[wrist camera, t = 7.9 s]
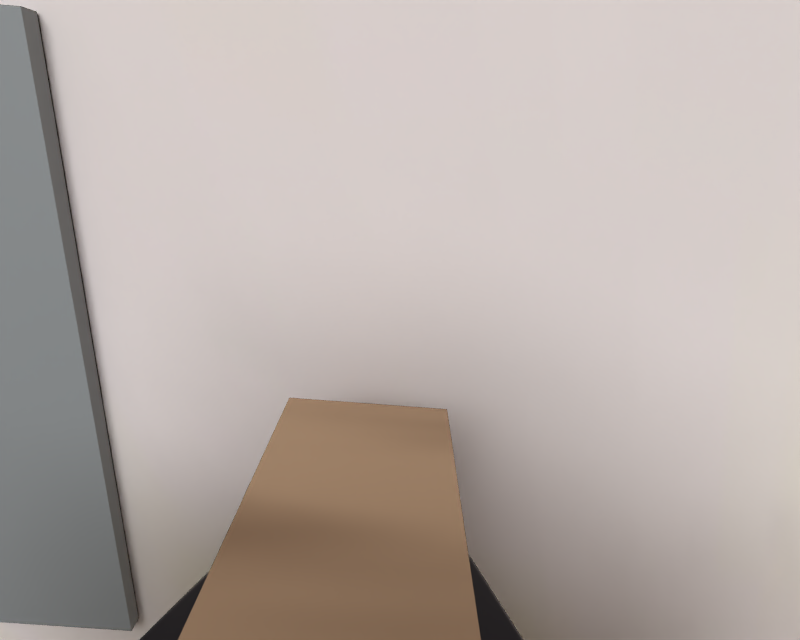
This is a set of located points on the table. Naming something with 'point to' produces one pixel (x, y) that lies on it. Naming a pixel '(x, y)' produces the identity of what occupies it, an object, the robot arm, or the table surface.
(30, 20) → the mat
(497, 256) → the table surface
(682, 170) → the table surface
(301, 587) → the brown stepped block
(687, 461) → the table surface
